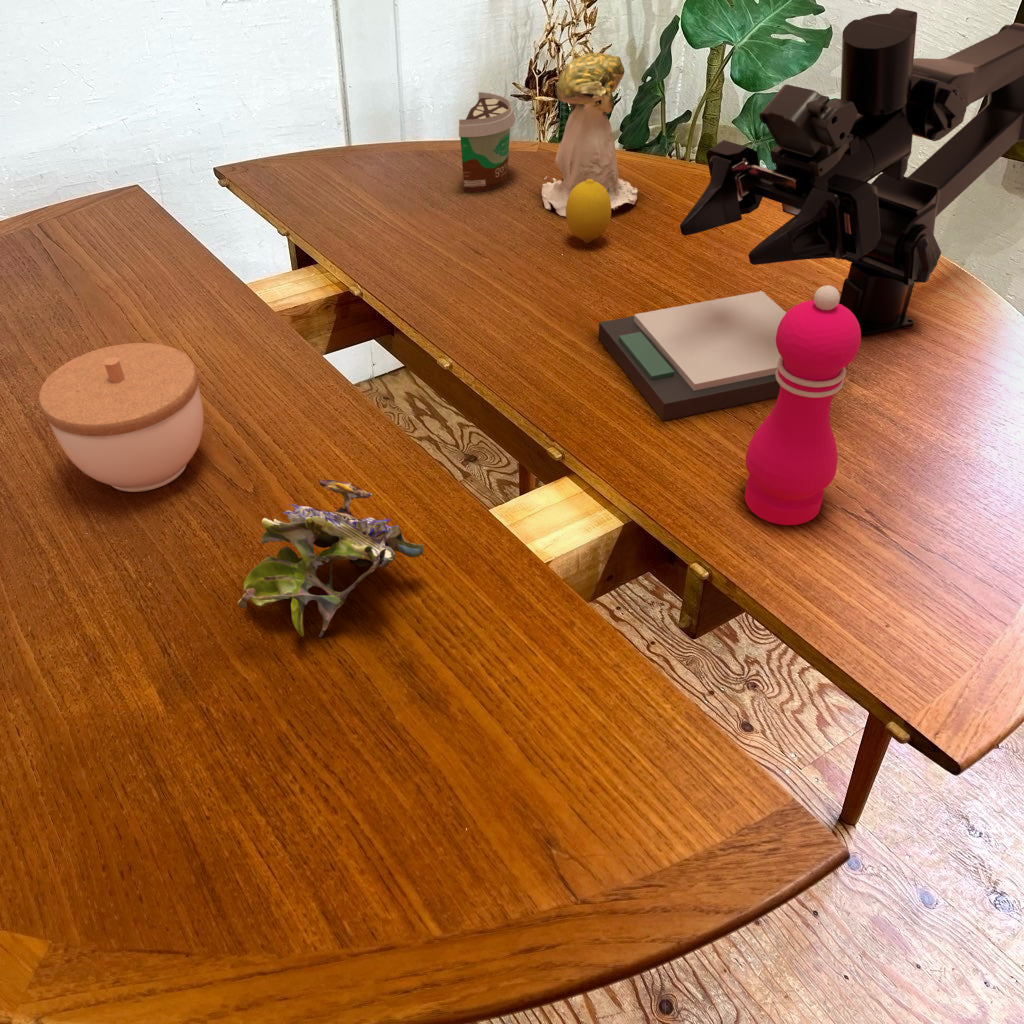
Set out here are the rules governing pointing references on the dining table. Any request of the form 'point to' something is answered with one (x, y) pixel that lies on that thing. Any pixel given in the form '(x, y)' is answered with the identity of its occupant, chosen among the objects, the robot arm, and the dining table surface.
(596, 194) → the lemon
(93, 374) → the lidded bowl
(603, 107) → the mushroom
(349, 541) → the passion flower
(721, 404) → the scale
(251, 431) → the dining table surface
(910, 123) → the robot arm
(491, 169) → the food container
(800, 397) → the pepper mill
